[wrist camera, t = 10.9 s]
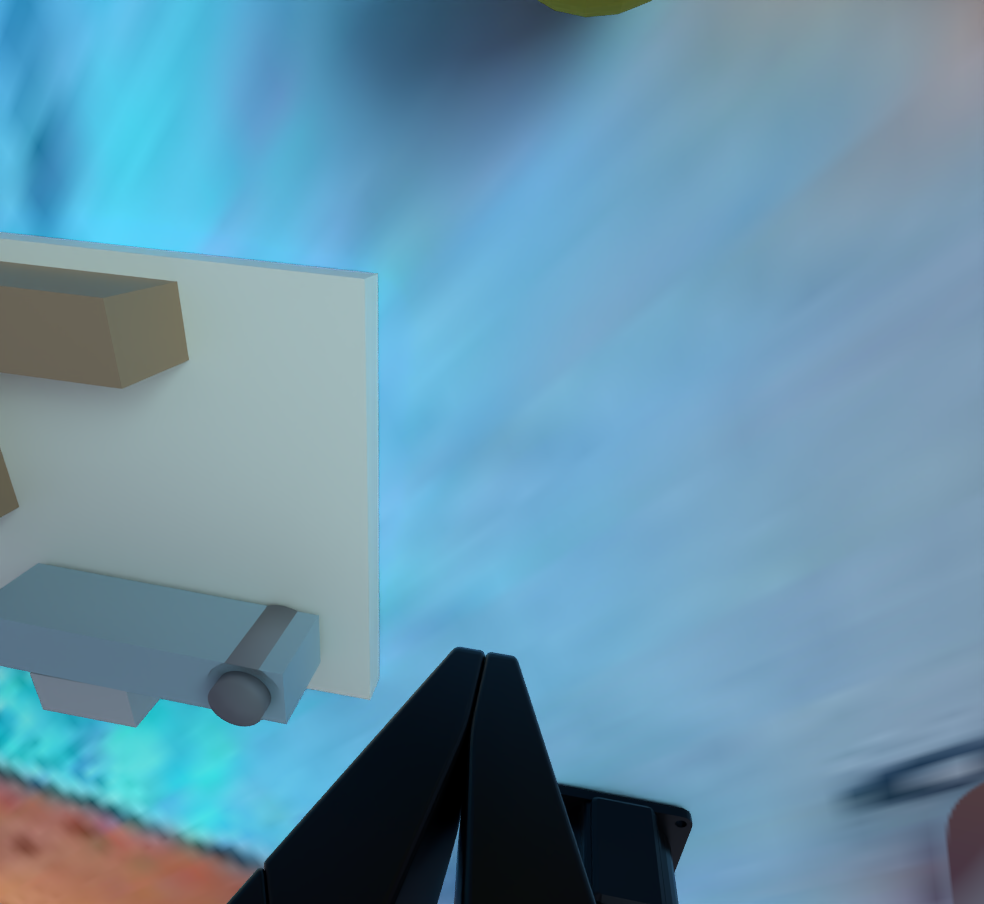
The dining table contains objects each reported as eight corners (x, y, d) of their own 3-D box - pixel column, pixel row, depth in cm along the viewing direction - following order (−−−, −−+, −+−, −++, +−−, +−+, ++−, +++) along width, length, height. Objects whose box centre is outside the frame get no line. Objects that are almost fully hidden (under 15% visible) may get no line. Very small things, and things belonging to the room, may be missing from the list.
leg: (319, 612, 22) (273, 685, 19) (320, 664, 23) (278, 741, 20) (37, 559, 23) (-52, 620, 20) (53, 612, 24) (-29, 678, 21)
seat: (379, 681, 25) (344, 767, 21) (32, 619, 27) (-58, 689, 23) (377, 273, 18) (322, 295, 14) (-106, 220, 19) (-275, 227, 15)
